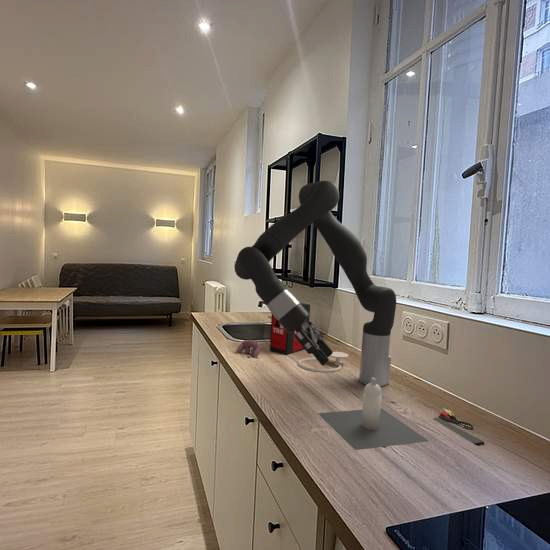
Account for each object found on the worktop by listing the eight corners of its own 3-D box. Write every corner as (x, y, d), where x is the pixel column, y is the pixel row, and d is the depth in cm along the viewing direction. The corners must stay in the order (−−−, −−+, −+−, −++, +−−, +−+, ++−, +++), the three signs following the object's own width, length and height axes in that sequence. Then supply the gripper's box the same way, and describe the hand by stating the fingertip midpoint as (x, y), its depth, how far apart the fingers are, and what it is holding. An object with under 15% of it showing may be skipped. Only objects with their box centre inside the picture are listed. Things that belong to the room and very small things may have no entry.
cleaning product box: (286, 355, 169) (289, 307, 167) (269, 351, 174) (272, 304, 173) (307, 348, 182) (310, 304, 181) (290, 344, 187) (293, 301, 186)
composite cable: (475, 430, 107) (476, 420, 107) (462, 432, 105) (463, 423, 105) (445, 415, 116) (446, 406, 116) (433, 417, 114) (433, 408, 114)
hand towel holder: (291, 350, 161) (336, 348, 169) (290, 361, 162) (335, 359, 169) (309, 362, 146) (358, 359, 153) (308, 374, 146) (358, 371, 153)
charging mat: (381, 410, 116) (381, 407, 116) (428, 443, 97) (429, 440, 97) (317, 415, 109) (317, 413, 109) (355, 452, 91) (355, 449, 90)
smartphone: (438, 417, 112) (485, 441, 98) (438, 420, 112) (485, 445, 98) (419, 420, 109) (464, 445, 96) (418, 423, 110) (464, 449, 96)
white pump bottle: (372, 421, 106) (376, 375, 105) (382, 429, 102) (386, 380, 101) (358, 423, 105) (361, 376, 104) (367, 430, 100) (371, 381, 100)
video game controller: (260, 360, 165) (265, 343, 167) (254, 357, 161) (259, 340, 163) (240, 355, 170) (245, 339, 172) (234, 352, 166) (240, 336, 169)
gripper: (293, 304, 99) (336, 357, 97) (303, 298, 113) (341, 344, 111) (270, 324, 101) (313, 375, 99) (283, 315, 115) (321, 361, 113)
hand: (328, 359), depth 105 cm, fingers open, 8 cm apart
